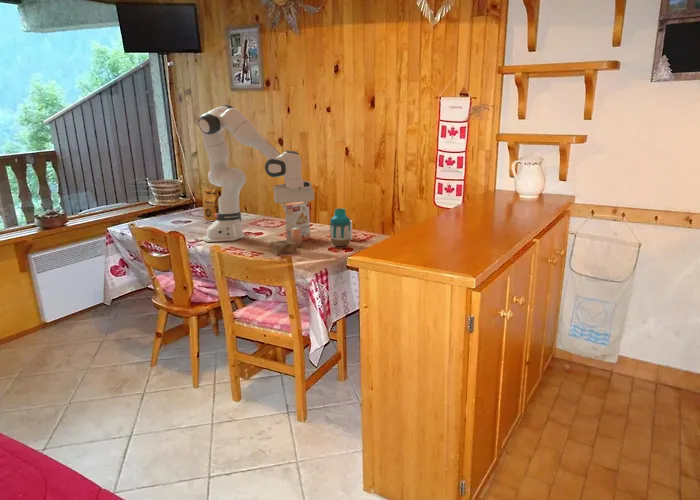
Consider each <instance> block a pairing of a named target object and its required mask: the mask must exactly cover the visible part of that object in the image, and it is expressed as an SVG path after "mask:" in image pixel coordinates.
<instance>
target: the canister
mask: <svg viewBox="0 0 700 500" xmlns="http://www.w3.org/2000/svg"><path fill="white" fill-rule="evenodd" d="M291 236H292V241H293V242H294V243H296V249H297V248H301V247H303V241H302V233H301V229H300V228H299V227H295V228H292V229H291Z"/></svg>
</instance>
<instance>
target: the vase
mask: <svg viewBox="0 0 700 500" xmlns="http://www.w3.org/2000/svg"><path fill="white" fill-rule="evenodd" d="M350 220H351V218H350V217H349V216H347V214H346V208H343V207H342V208H335V209H334V215H333V216H331V218H330V222H329V223H330V225H329V226H330V227H329V229H330V230H329V232H330V241H331V243H332V244H333V245H334V246H336V247H346V246H348V245H349V244H350V242H351V222H350Z"/></svg>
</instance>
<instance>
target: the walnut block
mask: <svg viewBox="0 0 700 500" xmlns="http://www.w3.org/2000/svg"><path fill="white" fill-rule="evenodd" d="M270 249H271V250H270V251H271V252H272V253H273V254H274V255H276V256H283V255H284V256H285V255H291V254H297V248H296V243H294V242H293V241H291V240H287V239H285V240H275V241H270Z"/></svg>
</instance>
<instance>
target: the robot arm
mask: <svg viewBox="0 0 700 500" xmlns="http://www.w3.org/2000/svg"><path fill="white" fill-rule="evenodd" d="M197 123H198V127H199V129H200V132H201V138H202V142H203V145H204V148H205V152H206V154H207V156H208V160H209V171H208V174H207V179H208V181H209V183H210V184H211V185H213V186H216V187H218V188H219V187H220V188H222V191H221V192H222V193H221V195H219V199H218V203H219V213H218V214H217V213H215V215H214V216H215V217H216V221H215V222H212V223H211V224H210V225H209V226H208V227H207V230H206V235H204V236H203V238H202V240H203V242H205V243H206V242H207V243H211V242H229V241H236V240H240V239H242V238H243V239H244V237H245V234H244V231H243V228H242V227H243V226H242V213H241V210H240V193H241V189H242V188H243V186H244V185H245V183H246V182H247V176H246V174H245V172H244V171H243V170H242V169H239V168H237V167H229V165H228V159H229V157H230V151H229V148H228V145H227V143H226V139H225V136H224V134H223V132H224V130H227V131H229V133H230V134H231V135H232V136H233V138H234V139H236V140H237V142H239V143H240V144H241V145H243V146H246V147H251V148H254V149H256V150H258V151H260V152H261V154H263V156H264V157H266V159H267V161H266V162H265V164H264V171H265V173H266V174H267V175H268V177H271V178H279V177H280V178H281V177H284V184H282V183H281V184H275V186H273V188H272V190H273V201H274V203H275V204H280V205H281V207H283V211H284V212H288V209H287V208H285V204H289V203H294V202H303V201H304V203H305V204H304V206H302V210H306V206H307V204H308V202H313V201H314V200H315V192H314V189H313V187H312V182H310V181H308V180H305V179H303V175H302V170H303V169H302V161H301V160H302V159H301V155H300V153H299V152H297V151H295V150H284V152H282V153H280V152H279V151H278V150H277V149H276V148H275V147H274V146H273V145H272V144H271V143H270V142H269V141H268V140H267V139H266V138H265V137H264V136H263V135H262V134H261V132H260V131H259V130H258V128H256V127H255V126H254V124H253V123H252V122H251V121H250V120H249V119H248V118H247V117H246V116H245V115H244V114H243V113H242V112H241V111H239V110H238V109H237V108H235V107H233V106H232V105H230V104H223V105H221V106H218V107H215V108H212V109H210V110H209V111H207V112H206V113H202V115H200V117H199V118H198V121H197Z"/></svg>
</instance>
